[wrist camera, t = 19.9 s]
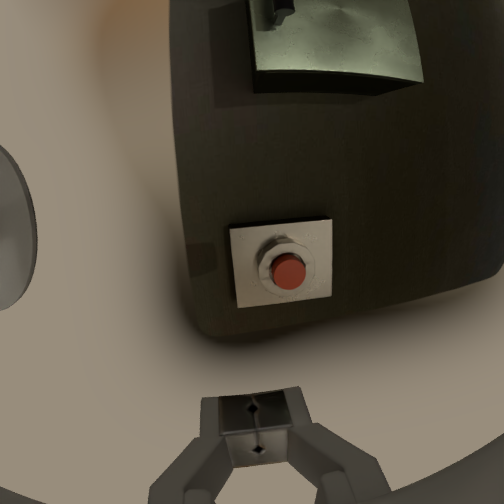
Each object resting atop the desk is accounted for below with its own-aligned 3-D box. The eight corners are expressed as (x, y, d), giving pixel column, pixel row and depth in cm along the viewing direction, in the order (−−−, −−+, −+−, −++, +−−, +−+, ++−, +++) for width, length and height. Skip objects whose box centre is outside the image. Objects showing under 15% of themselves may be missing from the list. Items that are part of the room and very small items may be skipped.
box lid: (255, 72, 23) (262, 56, 18) (243, -44, 18) (247, -70, 14) (419, 84, 24) (447, 77, 19) (396, -23, 19) (417, -39, 15)
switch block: (236, 300, 40) (238, 315, 36) (228, 224, 36) (229, 232, 33) (326, 289, 40) (336, 302, 37) (326, 215, 37) (337, 222, 33)
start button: (272, 285, 35) (274, 292, 34) (270, 256, 34) (272, 261, 33) (302, 281, 36) (306, 288, 34) (301, 252, 35) (305, 257, 33)
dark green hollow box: (253, 93, 32) (265, 72, 23) (244, -3, 28) (252, -44, 18) (376, 96, 33) (419, 84, 24) (362, 6, 29) (396, -23, 19)
